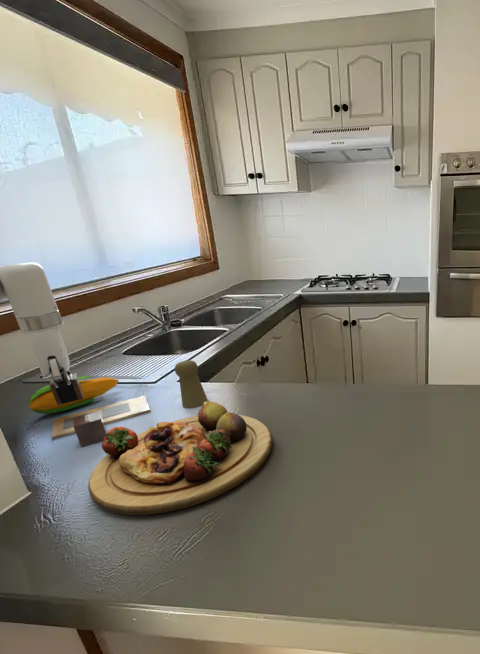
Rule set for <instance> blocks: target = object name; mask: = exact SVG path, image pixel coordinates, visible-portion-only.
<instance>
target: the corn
mask: <svg viewBox="0 0 480 654" xmlns="http://www.w3.org/2000/svg"><path fill="white" fill-rule="evenodd" d="M92 376H93V375H92V374H91V375H83V376H78V379H79V382H80V384H81V387H82V390H83V399H80V400H76V401H73V402H69V403H65V404H61V405H57V403H56V400H55V398H54V395H53V393H52V390H51V388H50V384H49V385H45V386H43V387H41V388H40V389H38V390H36V391H35V392H34V393H33V394H32V395H31V396H30V397H29V400H28V403H27V405H28V408H29V409H30V410H31V411H32V412H35V413H37V414H43V415H51V414H59V413H62V412H65V411H68V410H73V409H75V408H79V407H82V406H86V405H88V404H90V403H92V402H94V401H96V400H97V399H96V398H98V397H100V396H102V395H104V394H106V393H107V392H109V391H110V390H112V389H114V388H115V387H116V386H117V385H118V384H119V379H117V378H113V377H108V376H105V377H104V376H103V377H98V378H91V377H92ZM89 378H90V379H89Z"/></svg>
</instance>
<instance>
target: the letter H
mask: <svg viewBox="0 0 480 654" xmlns="http://www.w3.org/2000/svg"><path fill="white" fill-rule="evenodd" d="M64 377H65V376H64ZM68 377H69V380H70V383H71V384H73V387H74V389H75V392H76V394H77V397H78V400H80V399H83V390H82V387H81V384H80V382H79V381H80V380H79V379H78V377H79V376H78V374H77V372H75V373H71V374H70V375H68ZM49 385H50V388H51V390H52V393H53V395H54V398H55V400H56V403H57V405H61V404H62V403H61V401H60V399H59V396H58V394H57V391H56V389H55V384H54V382H53V379H52V378H51V379H50V382H49Z"/></svg>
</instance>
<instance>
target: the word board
mask: <svg viewBox="0 0 480 654" xmlns="http://www.w3.org/2000/svg"><path fill="white" fill-rule="evenodd" d="M98 411H100V412H101V415H102V417H103V420H104V423H105V425H108V424H112V423H115V422H118V421H122V420H126V419H128V418H132V417H133V418H134V417H136V416H139V415H144V414H146V413H151V408H150V405H149V403H148V400H147V397H146V394H145V395H140V396H137V397H132V398H129V399H126V400H125V399H124V400H122V401H117V402H114V403H110V404H105V405H103V406H98V407H95V408H91V409H87V410H83V411H80V412H75V413H72V414H68V415H64V416H61V417H57V418H54V419H53V424H52V431H51V439H52V440H54V439H55V440H56V439H58V438H61V437H65V436H68V435H72V434H76V432H75V430H74V427H73V426H74V418H76V417H80V416H83V415H87V414H91V413H95V412H98Z"/></svg>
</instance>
